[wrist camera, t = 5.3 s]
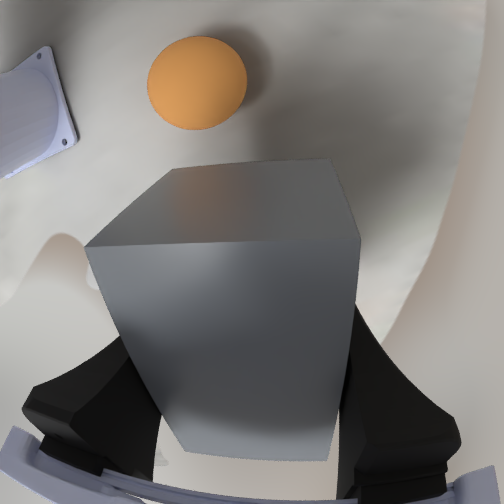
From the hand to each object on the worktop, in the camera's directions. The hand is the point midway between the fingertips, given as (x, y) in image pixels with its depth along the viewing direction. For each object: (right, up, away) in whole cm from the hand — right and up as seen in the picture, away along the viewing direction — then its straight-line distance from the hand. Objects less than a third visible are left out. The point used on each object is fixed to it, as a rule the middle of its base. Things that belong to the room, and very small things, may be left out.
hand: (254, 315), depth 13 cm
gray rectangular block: (0, +1, +2) cm, 2 cm away
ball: (-3, +11, +2) cm, 11 cm away
